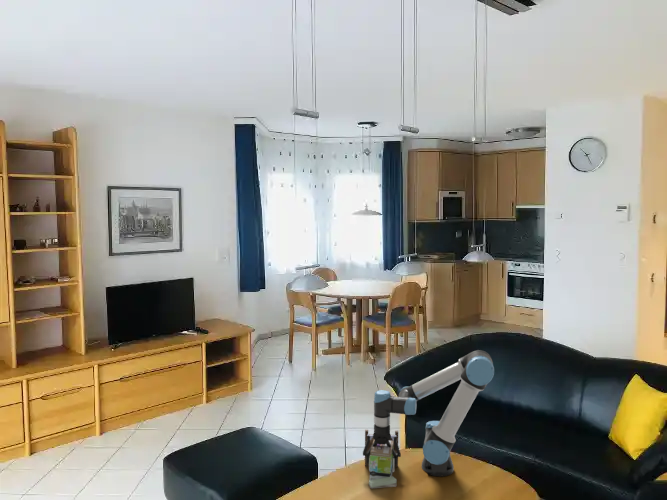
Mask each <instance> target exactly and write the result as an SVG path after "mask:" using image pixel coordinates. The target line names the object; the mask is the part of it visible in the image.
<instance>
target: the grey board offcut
mask: <svg viewBox="0 0 667 500" xmlns="http://www.w3.org/2000/svg"><path fill="white" fill-rule="evenodd" d="M397 485H398V484H397V483H394V484H388V485H382V486H377V487H371V486H370V484H369V483H368V486H369V488H370V489H380V488H381V489H383V488H393V487H394V488H395V487H397Z"/></svg>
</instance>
